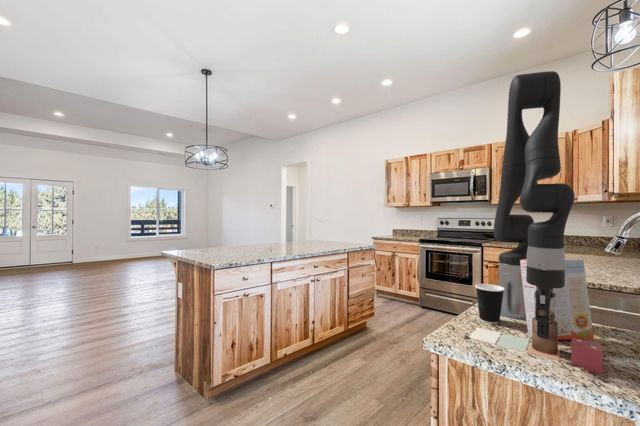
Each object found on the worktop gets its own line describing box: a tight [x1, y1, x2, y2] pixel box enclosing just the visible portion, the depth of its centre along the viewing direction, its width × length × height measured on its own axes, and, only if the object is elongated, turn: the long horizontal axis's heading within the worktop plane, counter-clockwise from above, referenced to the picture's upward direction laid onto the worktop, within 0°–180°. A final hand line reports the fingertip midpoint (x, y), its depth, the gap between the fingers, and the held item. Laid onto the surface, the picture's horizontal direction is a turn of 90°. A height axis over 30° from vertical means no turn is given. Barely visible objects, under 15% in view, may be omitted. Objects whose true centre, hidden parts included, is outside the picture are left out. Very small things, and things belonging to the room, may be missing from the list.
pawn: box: [531, 311, 559, 354], centre depth 73 cm, size 5×5×10 cm
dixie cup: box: [475, 283, 505, 325], centre depth 92 cm, size 8×8×11 cm
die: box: [570, 337, 603, 375], centre depth 67 cm, size 5×5×5 cm
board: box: [468, 327, 562, 361], centre depth 77 cm, size 11×20×1 cm, turn 50°
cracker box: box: [520, 258, 595, 341], centre depth 82 cm, size 14×6×21 cm, turn 90°
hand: (544, 331), depth 73 cm, fingers open, 8 cm apart
